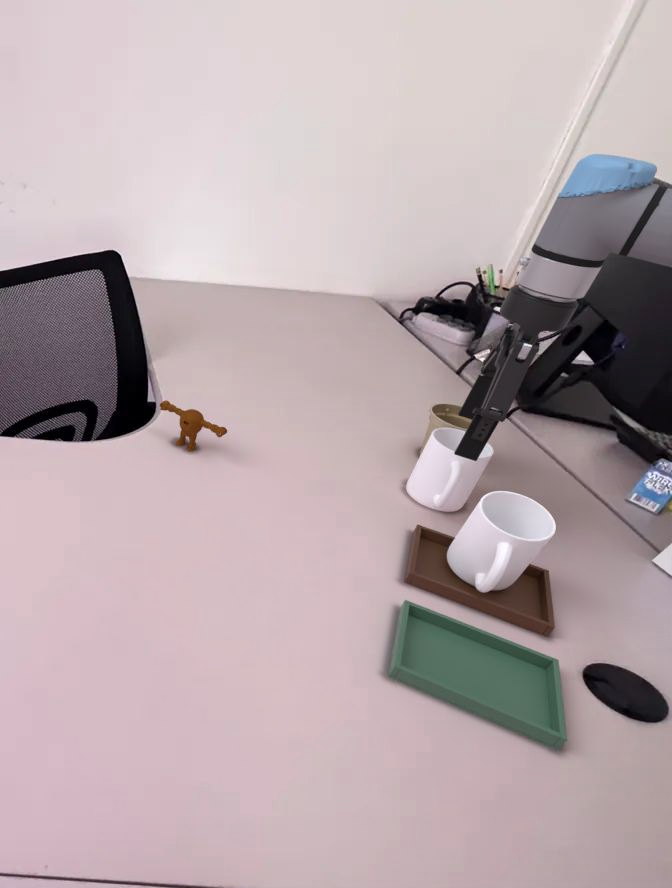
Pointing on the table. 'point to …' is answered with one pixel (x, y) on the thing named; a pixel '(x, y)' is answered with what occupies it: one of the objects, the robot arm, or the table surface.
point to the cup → (445, 472)
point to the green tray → (480, 673)
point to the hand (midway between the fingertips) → (466, 436)
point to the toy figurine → (191, 425)
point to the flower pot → (445, 419)
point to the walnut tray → (514, 604)
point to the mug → (499, 540)
